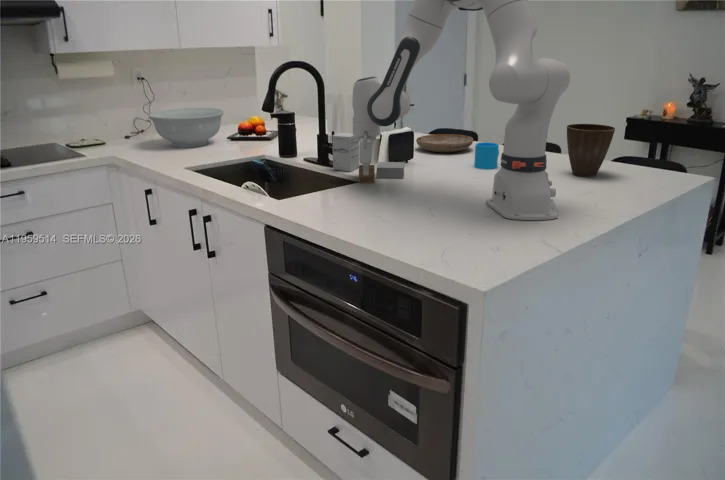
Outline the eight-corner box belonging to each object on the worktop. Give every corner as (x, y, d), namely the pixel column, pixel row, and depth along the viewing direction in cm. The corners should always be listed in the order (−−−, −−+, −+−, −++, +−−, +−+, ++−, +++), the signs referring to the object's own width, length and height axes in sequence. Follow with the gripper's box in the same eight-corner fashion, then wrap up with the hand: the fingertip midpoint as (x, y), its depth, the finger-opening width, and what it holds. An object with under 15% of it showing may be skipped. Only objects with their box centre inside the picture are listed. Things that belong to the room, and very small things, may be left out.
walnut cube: (374, 183, 180) (374, 168, 178) (359, 183, 180) (358, 168, 178) (374, 179, 184) (374, 164, 183) (359, 179, 184) (359, 165, 183)
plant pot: (587, 167, 195) (593, 122, 190) (618, 177, 182) (625, 128, 177) (552, 171, 191) (557, 125, 185) (581, 181, 178) (587, 131, 172)
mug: (489, 170, 194) (490, 147, 191) (469, 167, 200) (471, 144, 197) (506, 164, 202) (508, 142, 199) (487, 161, 208) (489, 140, 205)
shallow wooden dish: (422, 144, 244) (422, 132, 243) (475, 146, 237) (476, 134, 236) (410, 154, 224) (410, 141, 222) (468, 156, 217) (469, 144, 215)
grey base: (403, 179, 185) (403, 167, 183) (376, 179, 186) (376, 167, 184) (404, 173, 193) (404, 162, 192) (378, 173, 194) (378, 162, 193)
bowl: (172, 154, 230) (167, 119, 224) (141, 144, 252) (136, 112, 247) (239, 144, 250) (236, 111, 245) (205, 136, 272) (202, 106, 267)
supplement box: (332, 170, 198) (331, 135, 193) (342, 166, 204) (341, 132, 200) (350, 172, 194) (349, 136, 190) (360, 168, 201) (359, 133, 196)
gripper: (375, 134, 167) (375, 179, 171) (376, 124, 186) (376, 164, 191) (354, 134, 167) (355, 179, 172) (358, 124, 186) (358, 164, 191)
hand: (366, 171), depth 181 cm, fingers open, 8 cm apart
